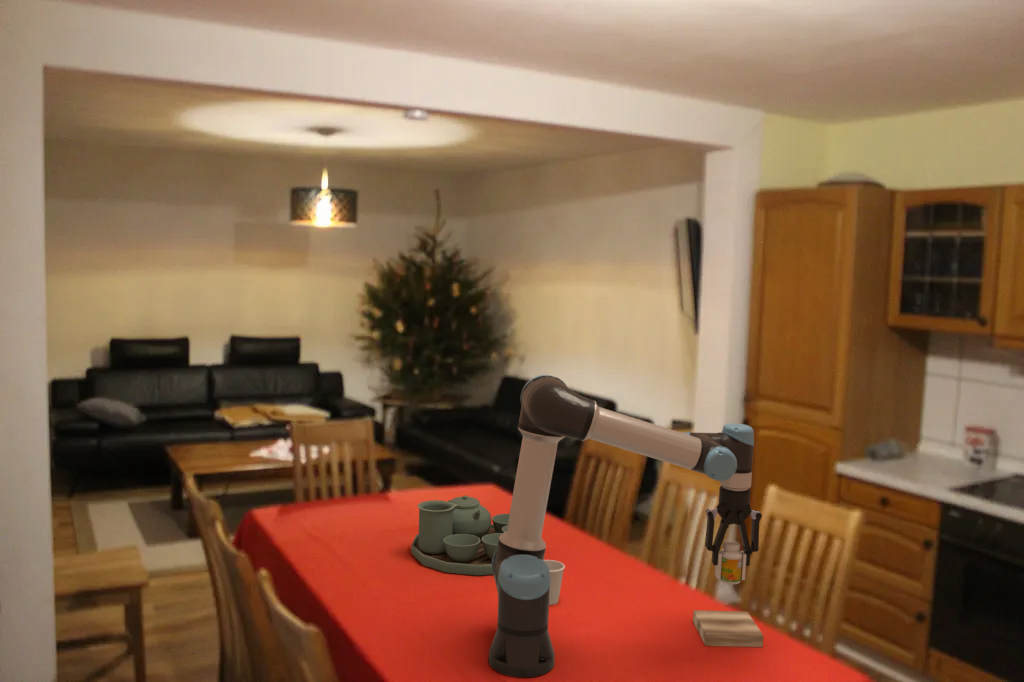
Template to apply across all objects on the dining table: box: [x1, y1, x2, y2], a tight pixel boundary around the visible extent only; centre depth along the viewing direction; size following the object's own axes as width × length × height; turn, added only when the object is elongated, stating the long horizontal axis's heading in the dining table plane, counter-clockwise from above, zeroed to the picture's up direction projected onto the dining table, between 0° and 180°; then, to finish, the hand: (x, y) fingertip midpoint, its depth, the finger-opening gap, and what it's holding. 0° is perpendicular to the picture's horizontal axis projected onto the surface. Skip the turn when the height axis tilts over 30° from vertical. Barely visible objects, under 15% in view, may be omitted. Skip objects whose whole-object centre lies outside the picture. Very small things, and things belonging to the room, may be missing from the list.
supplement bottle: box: [718, 539, 742, 585], centre depth 217 cm, size 5×5×10 cm
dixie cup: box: [544, 559, 566, 606], centre depth 235 cm, size 8×8×10 cm
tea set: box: [410, 495, 510, 577], centre depth 271 cm, size 40×40×16 cm
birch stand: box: [692, 609, 764, 648], centre depth 219 cm, size 14×14×3 cm
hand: (729, 577), depth 217 cm, fingers closed on supplement bottle, 5 cm apart
